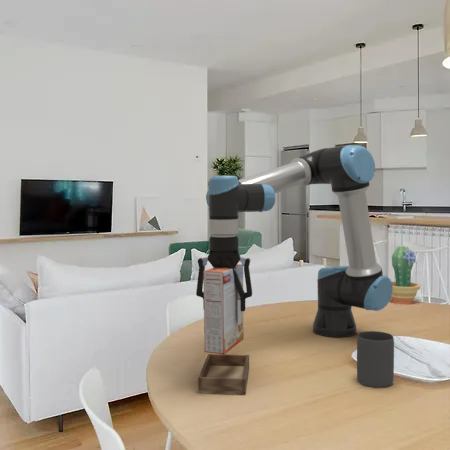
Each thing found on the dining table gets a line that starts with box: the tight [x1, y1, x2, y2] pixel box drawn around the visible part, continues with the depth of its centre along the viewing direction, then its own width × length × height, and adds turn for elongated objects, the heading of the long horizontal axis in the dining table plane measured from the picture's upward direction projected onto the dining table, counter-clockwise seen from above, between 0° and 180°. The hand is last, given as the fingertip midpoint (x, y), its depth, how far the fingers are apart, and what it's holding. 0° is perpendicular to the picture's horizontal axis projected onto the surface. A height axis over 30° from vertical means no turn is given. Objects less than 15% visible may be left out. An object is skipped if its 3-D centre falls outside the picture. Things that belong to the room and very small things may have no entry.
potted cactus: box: [390, 245, 421, 305], centre depth 222 cm, size 15×15×25 cm
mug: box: [356, 330, 395, 389], centre depth 130 cm, size 14×9×12 cm
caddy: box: [197, 353, 250, 395], centre depth 130 cm, size 12×19×4 cm, turn 174°
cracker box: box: [203, 263, 245, 354], centre depth 129 cm, size 14×6×21 cm, turn 157°
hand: (224, 323), depth 130 cm, fingers closed on cracker box, 7 cm apart
